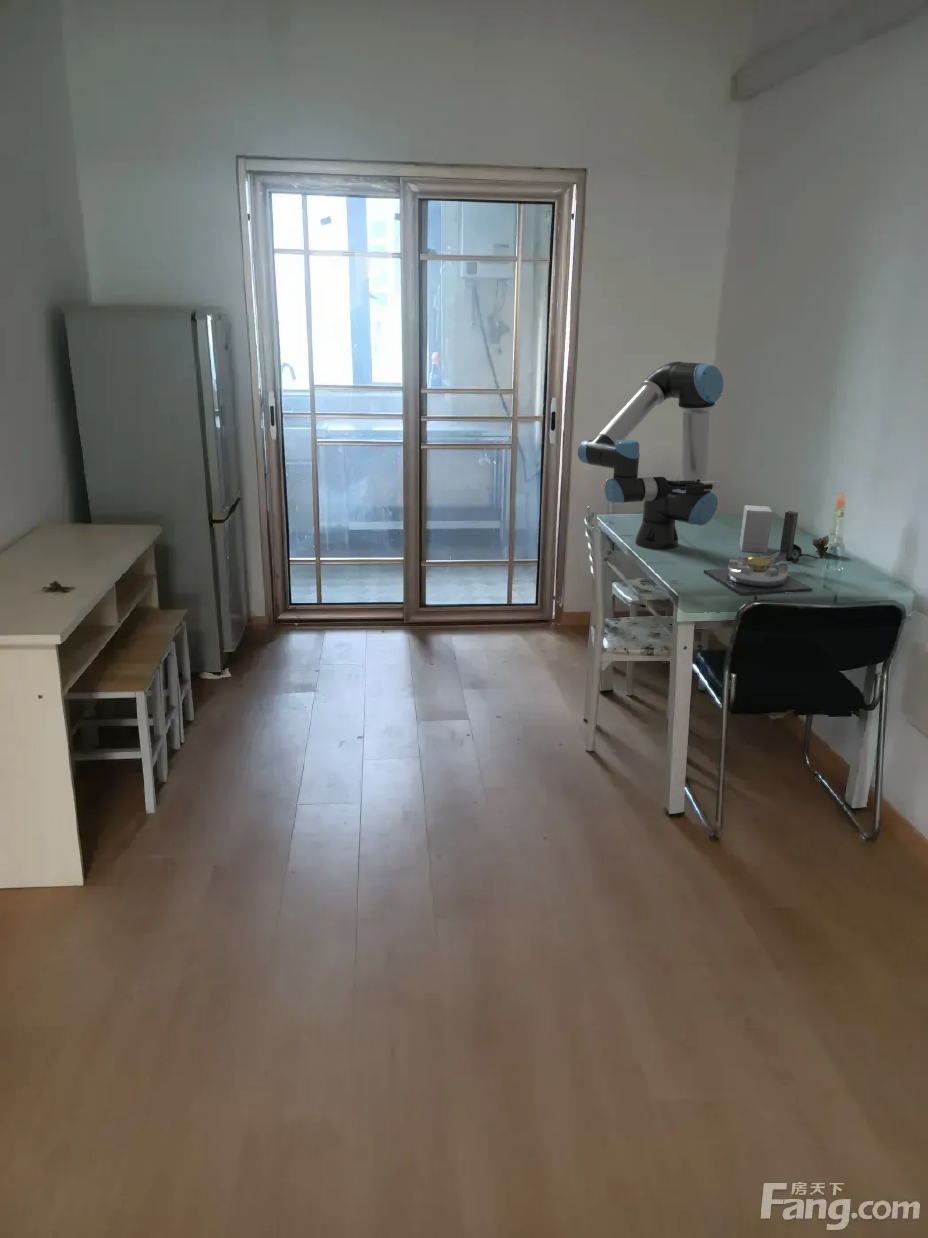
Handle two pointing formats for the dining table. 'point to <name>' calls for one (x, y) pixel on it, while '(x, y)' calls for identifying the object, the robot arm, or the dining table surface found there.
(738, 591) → the flange plate
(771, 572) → the round grey fixture
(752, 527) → the supplement box
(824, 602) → the dining table surface
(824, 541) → the artificial flower
